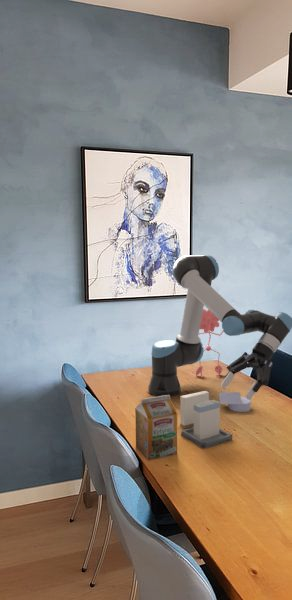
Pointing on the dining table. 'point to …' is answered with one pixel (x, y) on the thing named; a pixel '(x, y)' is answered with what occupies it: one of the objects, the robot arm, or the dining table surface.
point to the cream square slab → (191, 407)
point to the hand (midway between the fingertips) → (234, 392)
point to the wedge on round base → (235, 401)
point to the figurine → (209, 324)
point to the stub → (206, 419)
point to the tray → (209, 441)
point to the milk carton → (156, 427)
